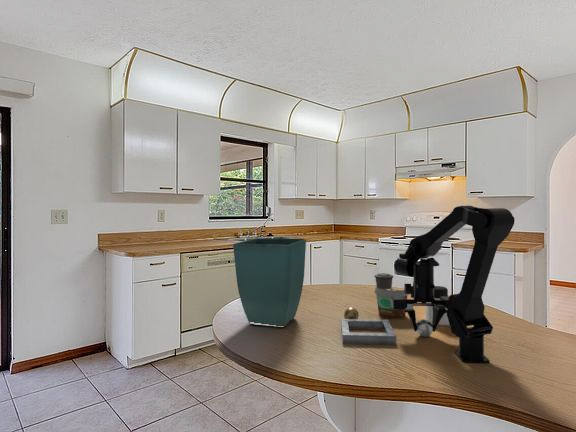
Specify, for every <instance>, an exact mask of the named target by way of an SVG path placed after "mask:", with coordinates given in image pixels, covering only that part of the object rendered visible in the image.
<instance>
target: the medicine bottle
mask: <svg viewBox="0 0 576 432" xmlns="http://www.w3.org/2000/svg"><path fill="white" fill-rule="evenodd" d="M441 296H449V289H448V288H447V287H446V286H443V285H435V288H434V299H435V300H440V297H441ZM426 303H428V302H426ZM430 303H431V302H430ZM424 309H425V311H424V312H425V313H424V314H425V318H424V319H425V320H428V321H429V322H430V323H431V324H432V320H433V307H432V306H424ZM446 310H447V308H446ZM438 326H446V327H447V326H449V327H450V324H449V320H448V317H447V313H444V315H443V316H442V318H441V320H440V321H439V324H438Z"/></svg>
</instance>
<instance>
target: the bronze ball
mask: <svg viewBox="0 0 576 432" xmlns="http://www.w3.org/2000/svg"><path fill="white" fill-rule="evenodd" d="M359 316H360V313H359V311H358V310H357V308H354V307H348V308H346V309H345V310H344V312H343V319H359Z"/></svg>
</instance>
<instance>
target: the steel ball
mask: <svg viewBox="0 0 576 432" xmlns="http://www.w3.org/2000/svg"><path fill="white" fill-rule="evenodd" d="M416 333H417V334H418V335H419V336H420V337H423V338H427V337H429V336H431V335H432V334H433V333H434V332H433V326H432V324H431V323H430V322H429V321H428V320H426V318H424V319H420V320H417V321H416Z"/></svg>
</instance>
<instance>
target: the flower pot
mask: <svg viewBox="0 0 576 432" xmlns="http://www.w3.org/2000/svg"><path fill="white" fill-rule="evenodd" d="M306 247H307V239H306V238H291V237H290V238H287V237H286V238H285V237H284V238H282V237H281V238H280V237H278V238H277V237H275V238H274V237H272V238H271V237H268V238H267V237H266V238H265V237H264V238H263V237H258V238H257V237H256V238H252V239H251V238H250V239H247V240H243V241H238V242H235V243H232V248H233V258H234V268H235V275H236V276H235V277H236V284H237V290H238V294H239V299H240V303H241V306H242V308H243V312H244V314H245V316H246V319H247V322H248V323H249V322H254V323H261V324H269V325H276V326H285V325H286V324H287V323H288V322H289V321H290V320H291V321H292V320H293V319H294V318H296V314H297V311H298V309H299V305H300V303H301V302H300V301H301V296H302V292H303V287H304V280H305V268H306V267H305V265H306ZM291 321H290V322H291ZM290 322H289V323H290ZM289 323H288V324H289ZM288 324H287V325H288ZM287 325H286V326H287ZM286 326H285V327H286Z"/></svg>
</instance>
